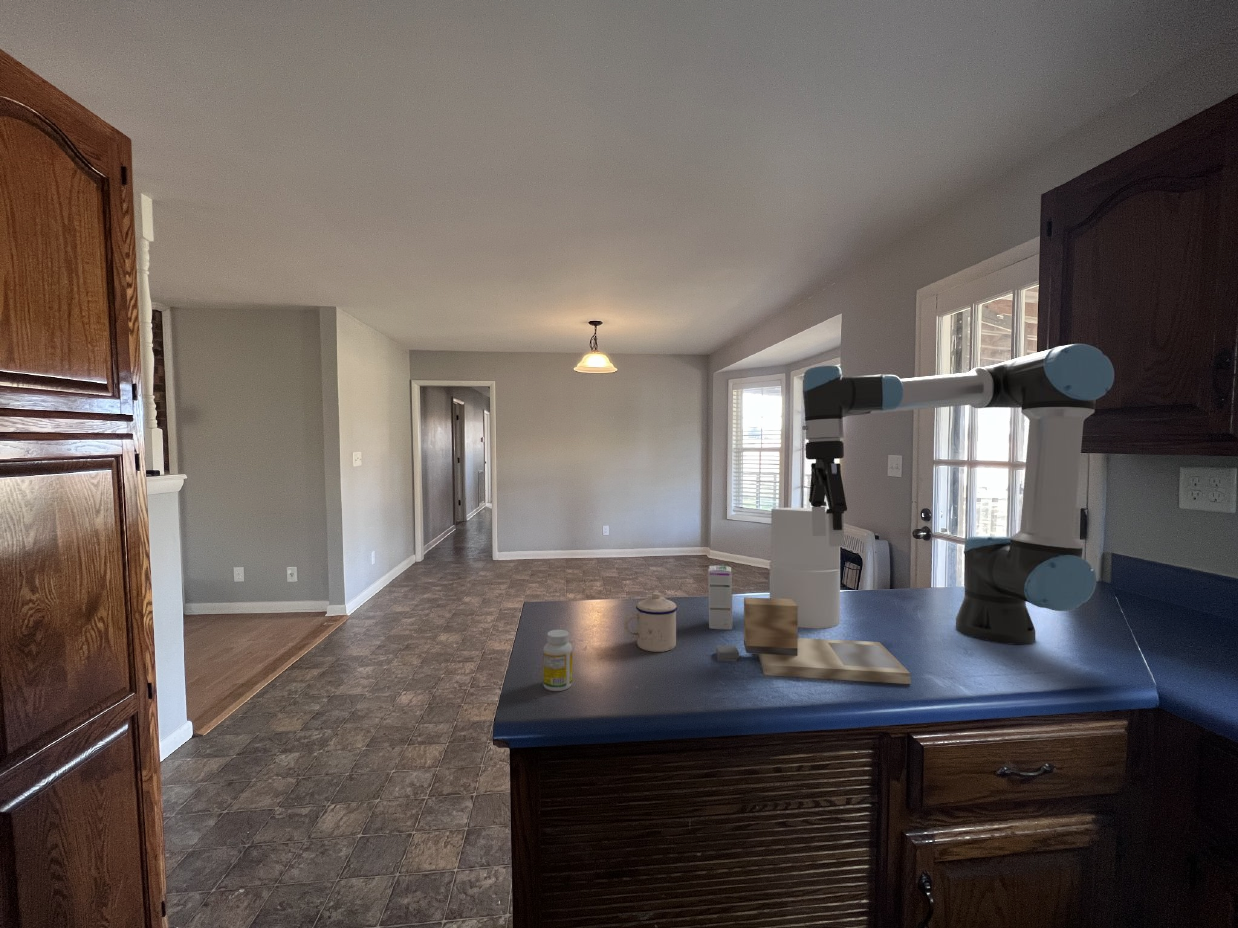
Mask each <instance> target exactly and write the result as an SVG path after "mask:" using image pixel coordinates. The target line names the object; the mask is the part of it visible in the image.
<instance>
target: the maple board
mask: <svg viewBox="0 0 1238 928" xmlns="http://www.w3.org/2000/svg"><path fill="white" fill-rule="evenodd" d="M757 656H758V659H759V662H760V666H761V668H762V671H763V675H764V676H770V677H771V676H773V677H775V676H776V677H789V678H807V679H822V680H835V681H836V680H837V681H854V682H871V683H886V684H888V683H889V684H900V685H901V684H902V685H903V684H904V685H911V672H910V671H909V670H908V669H907V668H906V667H905V666H904V665H903V664H902V663H901V662H900V661H899V660H898V659H897V658H896V657H895V656H894V655H893V654H892V653H891V652H889V650H888V649H886V647H885V646H884V645H882V643H880V642H879V641H865V640H864V641H863V640H847V639H846V640H844V639H825V638H807V637H806V638H803V637H798V656H792V655H774V654H757Z"/></svg>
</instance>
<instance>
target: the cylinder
mask: <svg viewBox="0 0 1238 928" xmlns="http://www.w3.org/2000/svg"><path fill="white" fill-rule="evenodd" d="M827 509H828V508H825V520H826V536H813V530H812V507H776V508H771V509H770V512H771V513H770V514H771V516H770V518H771V521H770V523H771V527H770V528H771V531H770V534H771V535H770V537H771V539H770V541H771V547H770V548H771V553H770V554H771V556H770V557H771V561H769V598H775V599H793V600H794V602H795V603H796V604H797V606H798V628H803V629H813V630H814V629H828V628H829V629H830V628H834V627H836V626H838V625H839V624H840V622H841V546H829V532H828V514H826V510H827Z"/></svg>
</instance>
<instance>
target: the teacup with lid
mask: <svg viewBox="0 0 1238 928" xmlns="http://www.w3.org/2000/svg"><path fill="white" fill-rule="evenodd" d="M635 607H636V608H635V609H636V613H632V614H629V615H627V617H625V619H624V622H623V627H624V630H625V633H627V635H629V637H632V638H636V640H637V641H636V643H637V646H638V648H640V649H642V650H644V651H647V652H653V653H660V652H662V653H663V652H667V651H670V650H673V649H675V647H676V645H677V610H678V607H677V604H676V603H675V602H673V601H672V600H670V599H667V598H665V597H664V596H662V594H661V592H655V591H654V592H652V593H651V596H649V597H647V598H646V599H642V600H640V601H638V603H637V604H636V605H635ZM632 619H636V632H631V631H630V628H629V622H630V621H631V620H632Z"/></svg>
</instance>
